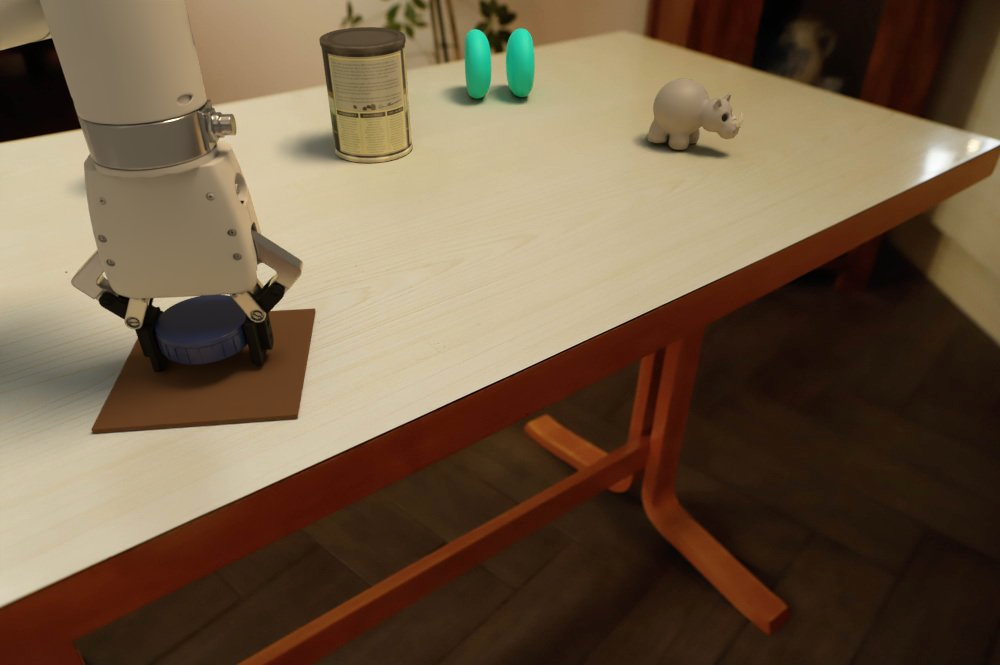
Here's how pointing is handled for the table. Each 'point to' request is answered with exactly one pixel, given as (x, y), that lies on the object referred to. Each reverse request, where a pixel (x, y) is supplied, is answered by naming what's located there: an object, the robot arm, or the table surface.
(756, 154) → the table surface
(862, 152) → the table surface
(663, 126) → the toy rhinoceros
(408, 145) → the coffee can
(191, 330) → the jar lid
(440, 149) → the table surface
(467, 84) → the donuts
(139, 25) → the robot arm
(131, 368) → the cork mat
